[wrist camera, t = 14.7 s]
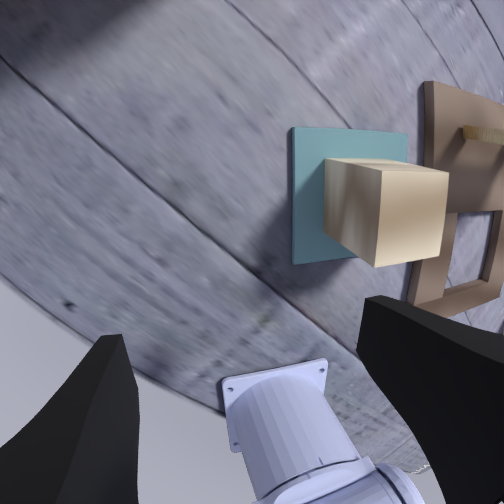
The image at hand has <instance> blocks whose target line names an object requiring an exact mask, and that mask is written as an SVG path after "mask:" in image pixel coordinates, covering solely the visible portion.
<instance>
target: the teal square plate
mask: <svg viewBox="0 0 504 504" xmlns="http://www.w3.org/2000/svg"><path fill="white" fill-rule="evenodd" d="M407 147H408V134H401V133H391V132H380V131H368V130H354V129H337V128H309V127H292V171H293V214H292V263H293V264H294V265H297V264H305V263H312V262H319V261H327V260H334V259H341V258H348V257H355V256H357V255H356V254H354V253H353V252H351V251H350V250H348V249H347V248H345V247H344V246H343V245H341V244H340V243H338V242H337V241H335V240H334V239H332V238H331V237H330V236H328V235H327V234H325V233H324V232H323V226H324V190H325V158H367V159H389V160H394V161H399V162H404V163H407Z"/></svg>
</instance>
